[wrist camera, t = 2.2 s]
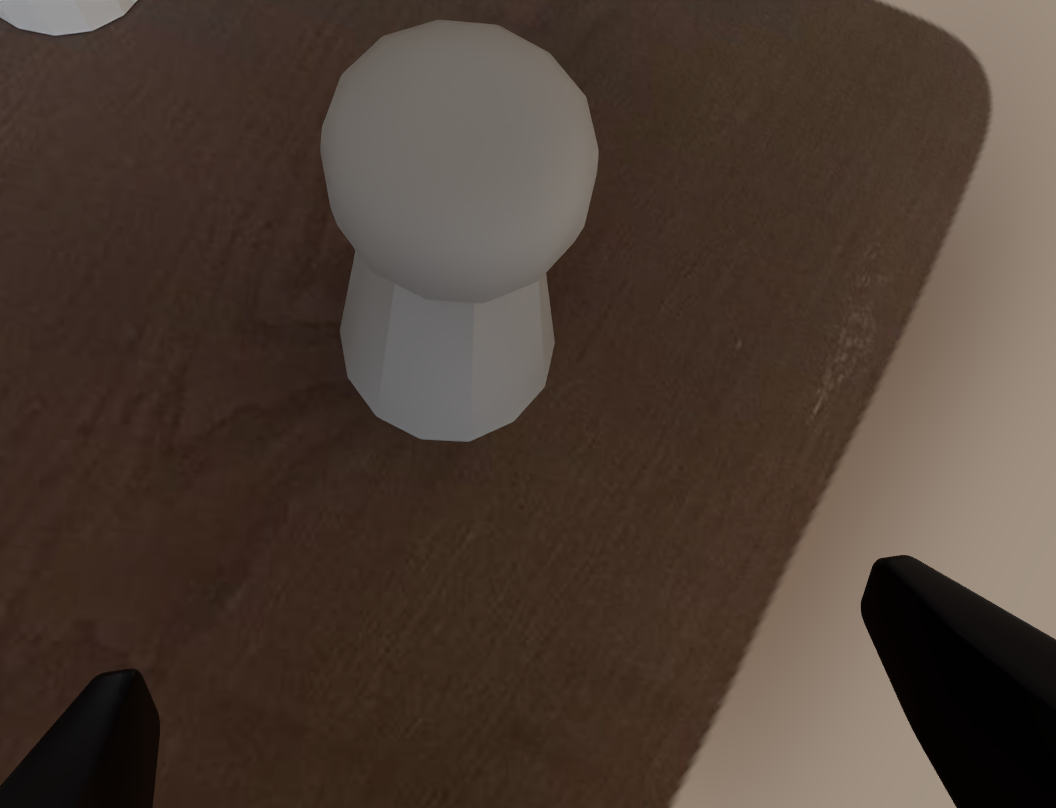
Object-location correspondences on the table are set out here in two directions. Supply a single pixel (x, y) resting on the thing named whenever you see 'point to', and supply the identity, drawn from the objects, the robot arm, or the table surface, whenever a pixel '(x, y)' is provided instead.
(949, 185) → the table surface
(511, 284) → the salt shaker
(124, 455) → the table surface
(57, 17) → the shot glass
